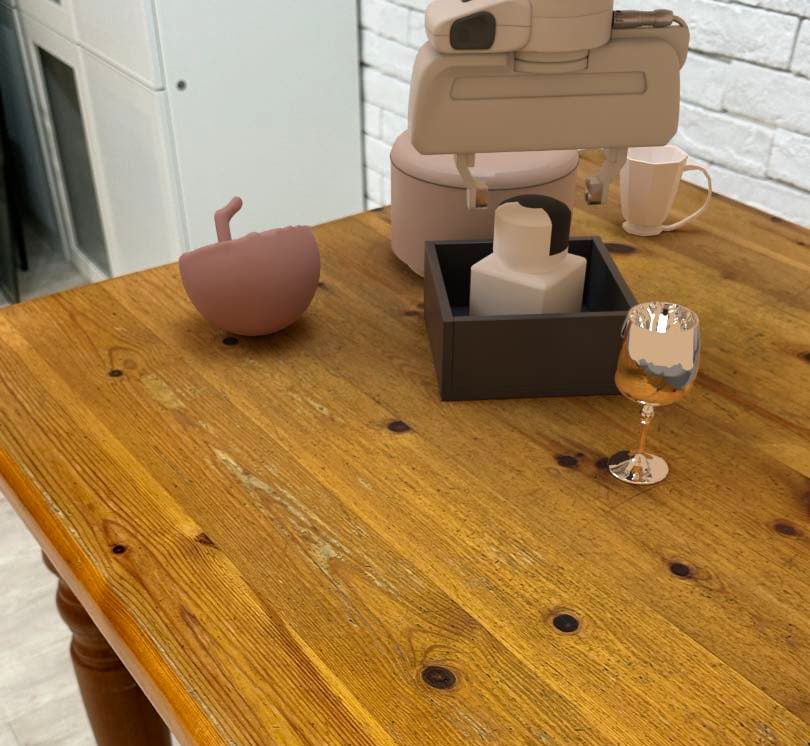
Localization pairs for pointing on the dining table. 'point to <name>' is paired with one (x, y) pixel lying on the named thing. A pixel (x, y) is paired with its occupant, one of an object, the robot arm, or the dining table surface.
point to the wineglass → (653, 376)
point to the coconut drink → (252, 276)
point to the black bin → (522, 330)
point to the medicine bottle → (528, 262)
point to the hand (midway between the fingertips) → (536, 204)
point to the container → (465, 193)
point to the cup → (654, 188)
